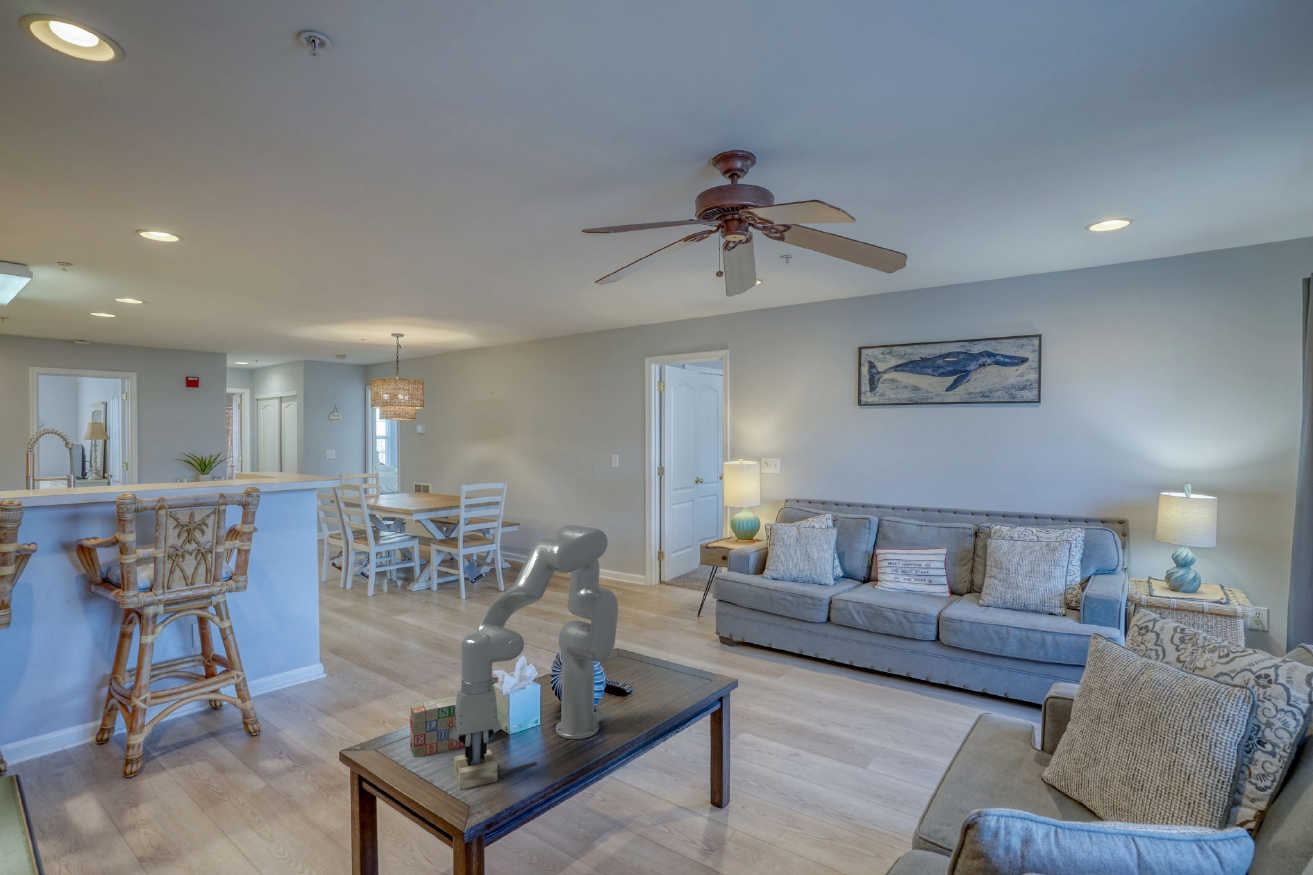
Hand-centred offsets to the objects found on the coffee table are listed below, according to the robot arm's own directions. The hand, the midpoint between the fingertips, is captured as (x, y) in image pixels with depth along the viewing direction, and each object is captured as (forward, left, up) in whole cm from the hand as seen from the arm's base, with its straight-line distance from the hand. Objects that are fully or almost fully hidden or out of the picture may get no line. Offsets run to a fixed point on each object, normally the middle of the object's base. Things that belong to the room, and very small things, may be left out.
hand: (475, 757), depth 160 cm
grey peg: (0, 0, -4) cm, 4 cm away
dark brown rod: (-10, +1, -5) cm, 11 cm away
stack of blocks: (+3, -20, -5) cm, 21 cm away
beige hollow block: (0, 0, -5) cm, 5 cm away
